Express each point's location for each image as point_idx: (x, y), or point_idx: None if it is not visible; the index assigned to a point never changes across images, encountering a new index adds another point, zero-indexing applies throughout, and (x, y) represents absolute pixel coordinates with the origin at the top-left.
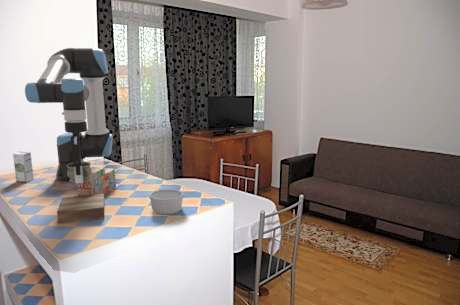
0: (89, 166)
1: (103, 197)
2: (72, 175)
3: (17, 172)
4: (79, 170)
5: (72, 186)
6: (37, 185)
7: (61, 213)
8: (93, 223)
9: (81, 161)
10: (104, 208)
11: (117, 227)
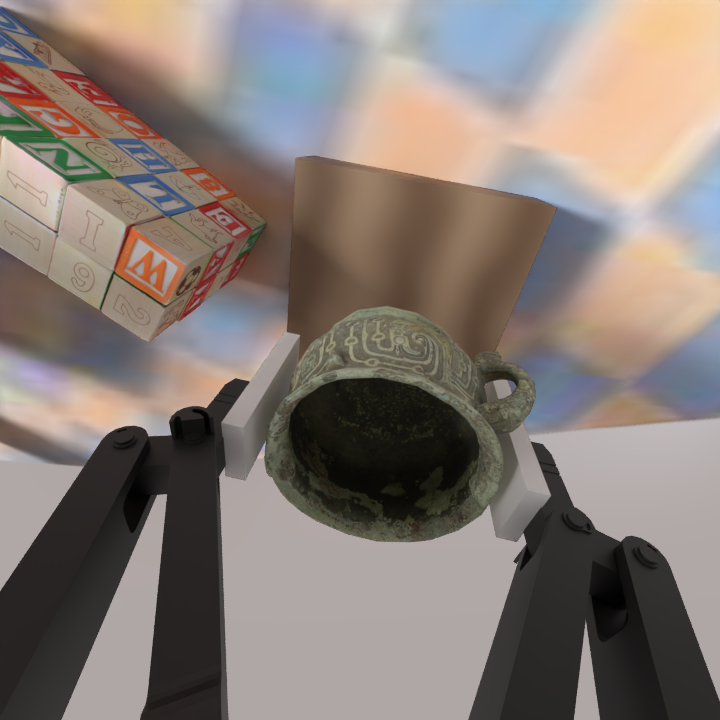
0: (426, 377)
1: (373, 175)
2: (454, 465)
3: None
4: (561, 484)
5: (15, 273)
6: (17, 389)
7: None
8: (559, 260)
9: (252, 429)
10: (396, 171)
11: (717, 150)
